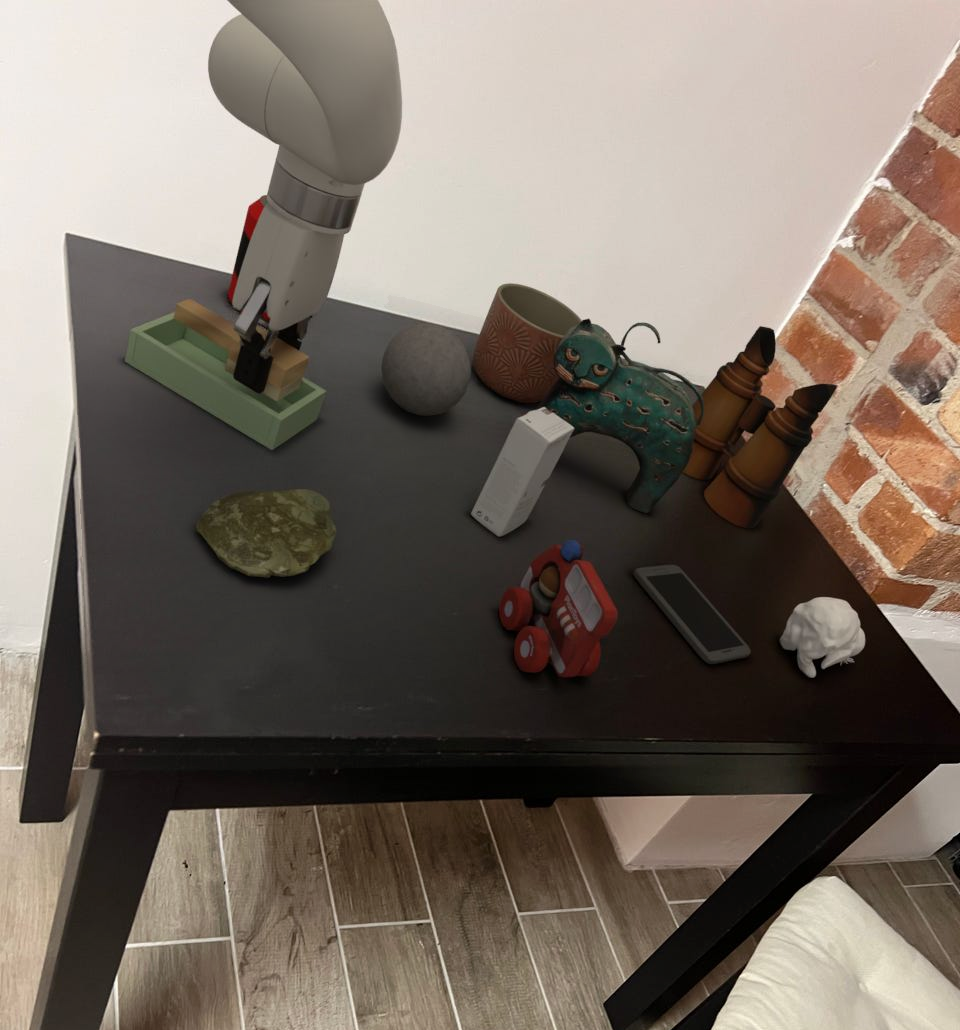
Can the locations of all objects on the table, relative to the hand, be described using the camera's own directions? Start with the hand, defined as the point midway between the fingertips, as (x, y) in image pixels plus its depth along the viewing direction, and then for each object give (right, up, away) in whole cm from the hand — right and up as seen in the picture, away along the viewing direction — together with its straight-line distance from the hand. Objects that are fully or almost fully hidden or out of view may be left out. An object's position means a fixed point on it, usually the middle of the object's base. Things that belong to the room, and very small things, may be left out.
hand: (263, 375), depth 90 cm
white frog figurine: (+59, -28, +13) cm, 66 cm away
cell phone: (+44, -23, +9) cm, 51 cm away
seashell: (+3, -18, -11) cm, 21 cm away
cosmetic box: (+23, -13, +7) cm, 28 cm away
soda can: (-5, +13, +18) cm, 23 cm away
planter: (+25, +8, +31) cm, 40 cm away
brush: (-3, +1, 0) cm, 4 cm away
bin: (-5, -1, +3) cm, 5 cm away
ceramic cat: (+34, -6, +21) cm, 40 cm away
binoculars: (+53, -5, +35) cm, 63 cm away
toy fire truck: (+27, -27, -6) cm, 38 cm away
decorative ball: (+13, +1, +16) cm, 21 cm away
